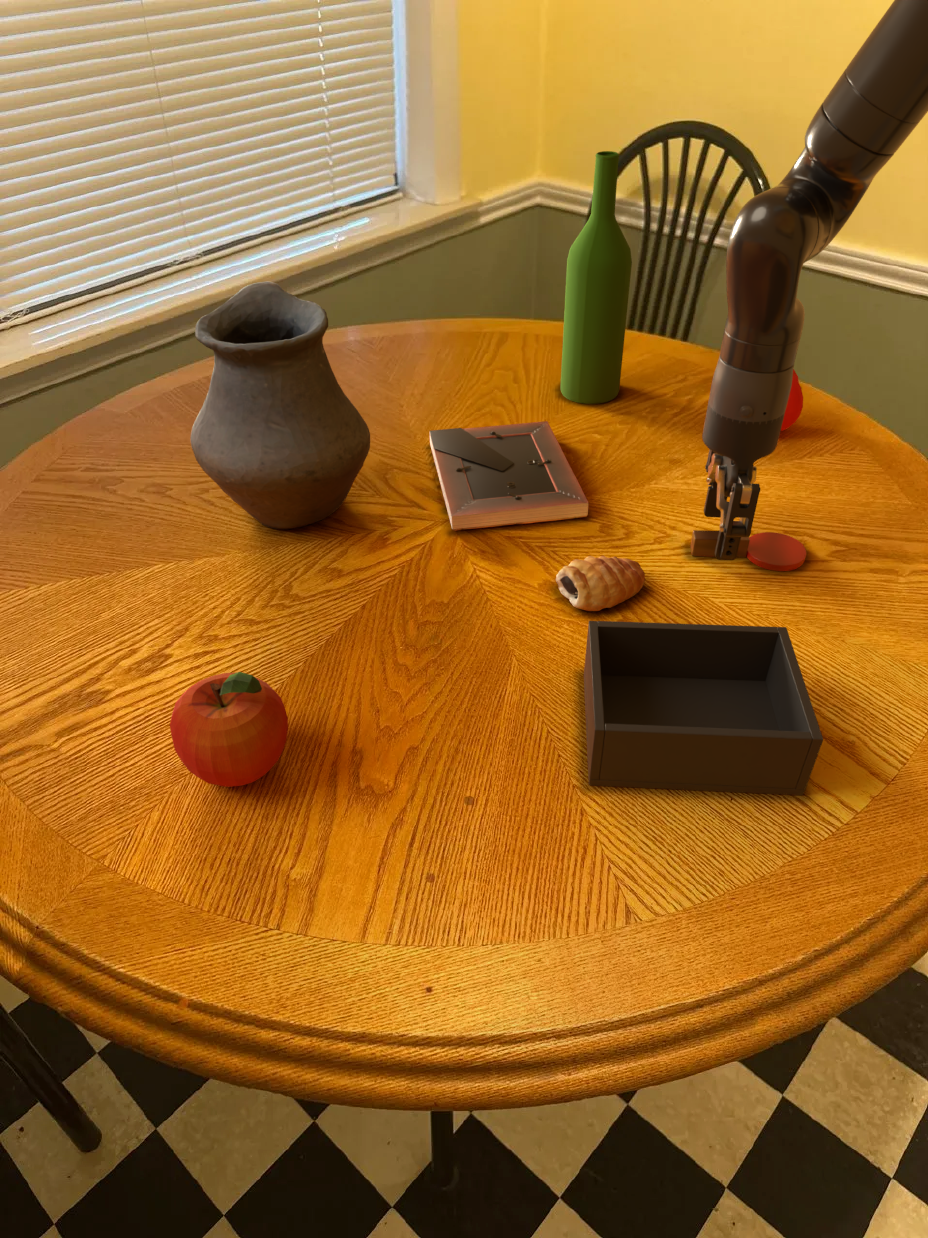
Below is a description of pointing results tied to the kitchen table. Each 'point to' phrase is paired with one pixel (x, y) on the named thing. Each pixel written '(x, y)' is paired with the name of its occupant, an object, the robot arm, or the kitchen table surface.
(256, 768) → the fruit
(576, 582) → the pastry
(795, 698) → the bin
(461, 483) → the picture frame
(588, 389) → the wine bottle
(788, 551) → the paddle
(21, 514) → the kitchen table surface
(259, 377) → the grey clay vase
